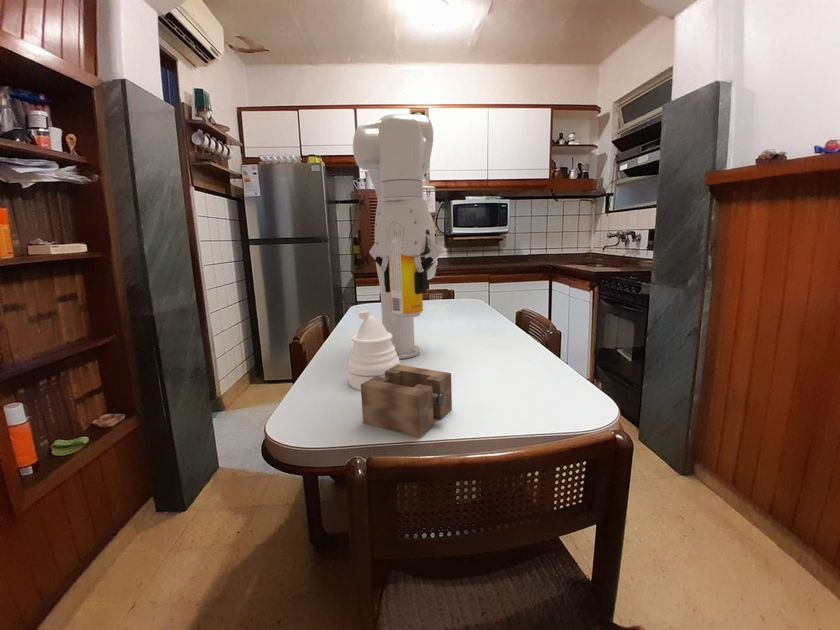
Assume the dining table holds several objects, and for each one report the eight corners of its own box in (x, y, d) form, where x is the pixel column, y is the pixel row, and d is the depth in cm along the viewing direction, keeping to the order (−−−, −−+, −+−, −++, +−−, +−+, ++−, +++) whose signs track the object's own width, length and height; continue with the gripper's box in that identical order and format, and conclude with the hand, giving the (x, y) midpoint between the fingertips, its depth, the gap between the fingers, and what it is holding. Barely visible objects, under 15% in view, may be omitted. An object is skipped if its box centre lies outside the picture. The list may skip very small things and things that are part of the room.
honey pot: (361, 395, 92) (356, 318, 88) (341, 379, 103) (336, 310, 99) (410, 382, 99) (407, 311, 95) (385, 368, 109) (382, 304, 106)
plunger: (415, 403, 78) (415, 391, 77) (422, 398, 80) (422, 386, 79) (440, 409, 75) (439, 396, 75) (446, 403, 77) (446, 391, 77)
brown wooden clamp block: (363, 422, 79) (360, 384, 77) (399, 398, 90) (397, 364, 88) (420, 438, 72) (419, 396, 71) (451, 409, 83) (451, 373, 81)
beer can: (428, 313, 78) (426, 234, 75) (411, 319, 73) (408, 235, 70) (402, 310, 81) (399, 235, 78) (384, 316, 76) (380, 236, 73)
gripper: (351, 195, 73) (357, 292, 77) (434, 187, 65) (437, 298, 69) (375, 197, 80) (380, 287, 83) (454, 190, 71) (455, 291, 75)
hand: (405, 291), depth 76 cm, fingers closed on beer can, 5 cm apart
